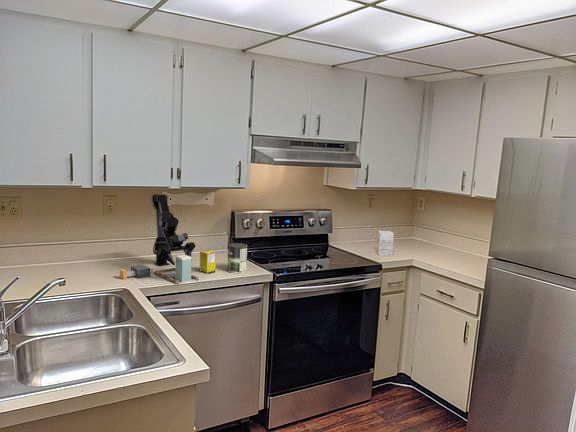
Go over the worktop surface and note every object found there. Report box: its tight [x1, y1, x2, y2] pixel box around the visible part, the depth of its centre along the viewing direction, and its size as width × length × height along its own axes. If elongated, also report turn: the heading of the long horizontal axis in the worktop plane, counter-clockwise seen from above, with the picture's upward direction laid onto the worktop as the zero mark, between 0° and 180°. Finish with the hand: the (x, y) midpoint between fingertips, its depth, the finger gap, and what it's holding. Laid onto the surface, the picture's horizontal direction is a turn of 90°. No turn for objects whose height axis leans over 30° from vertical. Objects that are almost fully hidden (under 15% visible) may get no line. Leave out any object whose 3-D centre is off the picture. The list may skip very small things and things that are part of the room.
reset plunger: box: [119, 268, 136, 280], centre depth 227 cm, size 4×7×4 cm, turn 133°
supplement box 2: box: [376, 230, 395, 257], centre depth 301 cm, size 9×9×15 cm
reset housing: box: [130, 264, 151, 279], centre depth 231 cm, size 9×6×4 cm, turn 43°
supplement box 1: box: [199, 249, 217, 275], centre depth 243 cm, size 6×6×11 cm
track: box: [153, 267, 199, 285], centre depth 232 cm, size 22×12×1 cm, turn 43°
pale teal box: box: [175, 254, 193, 283], centre depth 226 cm, size 6×5×12 cm
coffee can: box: [227, 242, 248, 274], centre depth 247 cm, size 10×10×14 cm
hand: (182, 263), depth 226 cm, fingers open, 9 cm apart
